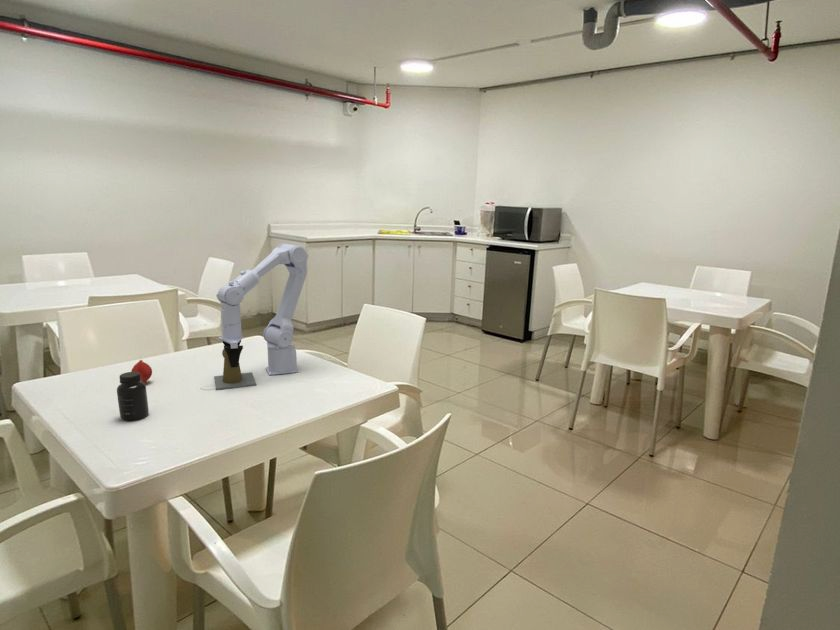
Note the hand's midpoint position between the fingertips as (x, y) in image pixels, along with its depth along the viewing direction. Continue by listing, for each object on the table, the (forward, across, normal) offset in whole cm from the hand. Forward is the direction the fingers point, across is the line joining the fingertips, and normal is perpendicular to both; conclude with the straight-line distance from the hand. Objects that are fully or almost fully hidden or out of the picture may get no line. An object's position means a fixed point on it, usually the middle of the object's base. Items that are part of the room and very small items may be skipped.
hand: (233, 364), depth 163 cm
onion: (+6, -8, -27) cm, 29 cm away
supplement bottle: (+6, +19, -27) cm, 34 cm away
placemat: (+6, 0, 0) cm, 6 cm away
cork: (+6, 0, -1) cm, 6 cm away
